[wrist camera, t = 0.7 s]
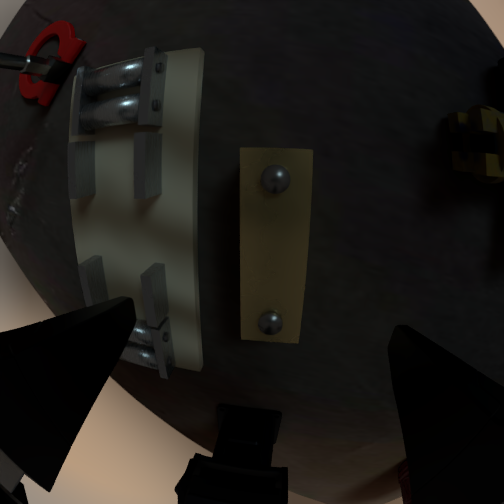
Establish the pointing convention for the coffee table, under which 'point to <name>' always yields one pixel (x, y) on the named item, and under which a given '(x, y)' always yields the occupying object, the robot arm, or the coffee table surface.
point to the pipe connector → (480, 140)
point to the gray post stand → (45, 63)
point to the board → (150, 206)
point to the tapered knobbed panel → (274, 241)
